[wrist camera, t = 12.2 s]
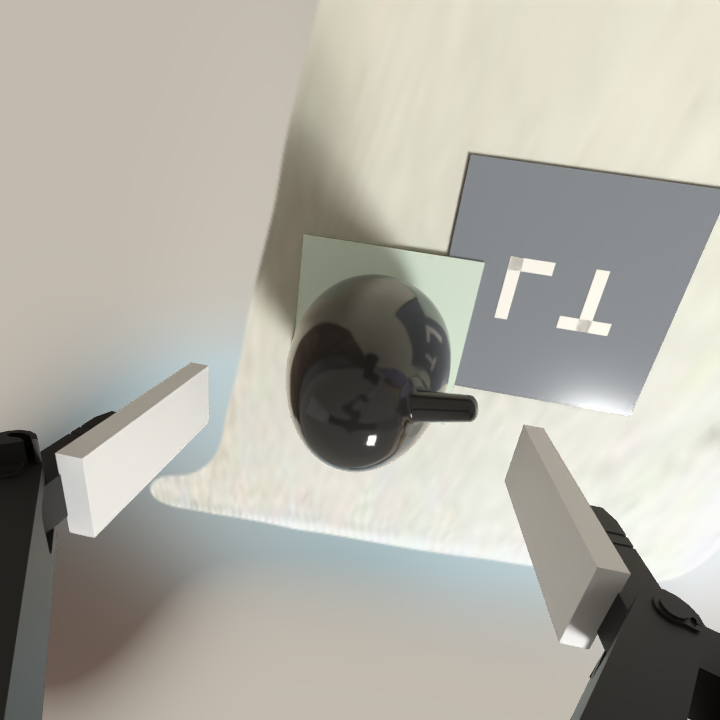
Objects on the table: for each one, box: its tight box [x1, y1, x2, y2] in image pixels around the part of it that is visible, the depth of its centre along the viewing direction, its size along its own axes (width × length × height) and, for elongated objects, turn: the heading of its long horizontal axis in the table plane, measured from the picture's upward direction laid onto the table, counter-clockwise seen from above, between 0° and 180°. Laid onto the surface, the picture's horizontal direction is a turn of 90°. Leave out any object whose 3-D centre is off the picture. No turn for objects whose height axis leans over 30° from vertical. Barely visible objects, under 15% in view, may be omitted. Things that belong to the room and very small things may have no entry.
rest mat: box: [295, 234, 485, 425], centre depth 30 cm, size 13×13×1 cm
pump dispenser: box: [286, 274, 478, 472], centre depth 22 cm, size 10×10×15 cm
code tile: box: [449, 154, 720, 416], centre depth 27 cm, size 16×16×1 cm
